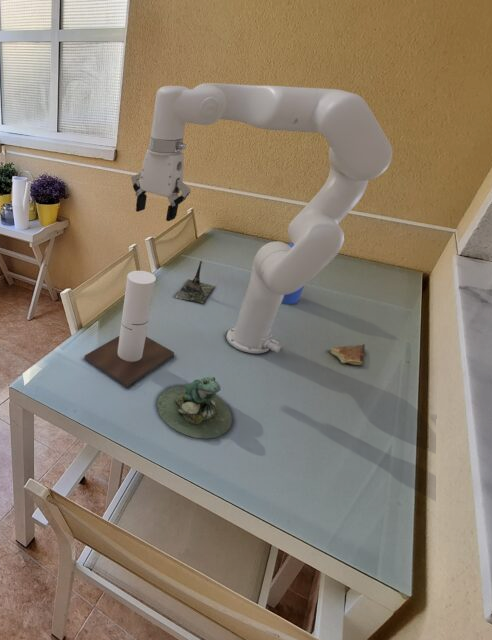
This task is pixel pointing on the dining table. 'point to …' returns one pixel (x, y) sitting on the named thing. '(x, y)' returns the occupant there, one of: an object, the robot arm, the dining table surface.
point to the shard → (349, 354)
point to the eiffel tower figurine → (195, 289)
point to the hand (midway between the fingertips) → (155, 215)
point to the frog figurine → (195, 409)
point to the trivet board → (126, 370)
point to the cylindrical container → (135, 315)
